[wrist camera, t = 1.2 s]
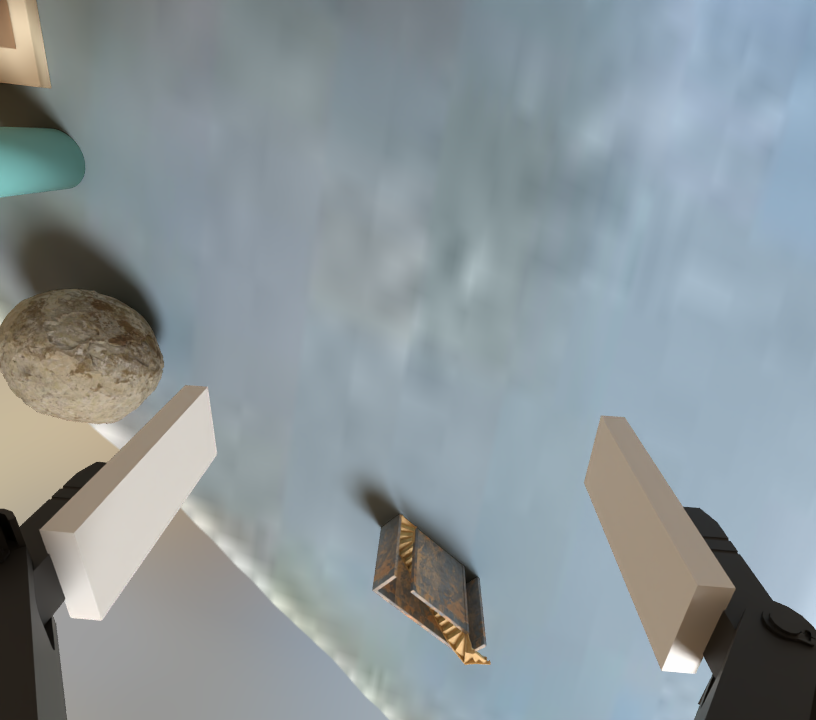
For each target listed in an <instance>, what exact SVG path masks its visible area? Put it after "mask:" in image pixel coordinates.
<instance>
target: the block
mask: <svg viewBox="0 0 816 720" xmlns="http://www.w3.org/2000/svg"><path fill="white" fill-rule="evenodd" d="M0 47H1V48H10V49H16V46H15V41H14V36H13V31H12V25H11V20H10V15H9V10H8V5H7V0H0Z"/></svg>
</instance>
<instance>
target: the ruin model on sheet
mask: <svg viewBox="0 0 816 720" xmlns="http://www.w3.org/2000/svg"><path fill="white" fill-rule="evenodd" d="M372 591H374V592H375V593H376V594H378V595H379V596H380V597H382V598H383V599H385V600H386V601H387V602H389V603H390V604H391V605H393V606H394V607H395V608H397V609H398V610H399V611H401V612H402V613H403V614H405V615H406V616H407V617H409V618H410V619H412V620H413V621H414V622H416V623H417V624H418V625H420V626H421V627H422V628H424V629H425V630H426V631H428V632H429V633H430V634H432V635H433V636H434V637H436V638H437V639H439V640H440V641H441V642H443V643H444V644H445V645H447V646H448V647H449V648H451V649H452V650H453V651H454V652H455V653H456V654H457V655H458V657H459V658H460V659H461V660H462V662H463V663H464V664H465V665H467V664H489V665H491V664H490V661H488V662H487V657H484V656H482V655H481V654H480V653H478V652H477V651H478V650H480V649H482V648H484V647H485V646H486V637H485V627H484V617H483V607H482V598H481V588H480V578H478V577H477V578H475V579H473V580H472V581H470V582H469V583H467V584H466V580H465V566H464V565H462V564H460V563H459V562H458V561H457V560H455V559H454V558H453V557H452V556H450V555H449V554H448V553H447V552H446V551H444V550H443V549H442V548H441V547H439V546H438V545H437V544H436V543H434V542H433V541H432V540H431V539H429V538H428V537H427V536H426V535H425V534H423V533H422V532H421V531H420V530H418V528H417V526H414V525H413V524H412V523H411V522H409V521H408V520H407V519H406V518H404V517H403V515H401V514H399V515H397V516H396V517H395V518H393V519H392V520H391V521H389V522H388V523H387V524H386V525H384V526H383V527H382V528H381V532H380V539H379V546H378V554H377V561H376V568H375V575H374V582H373V590H372Z"/></svg>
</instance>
